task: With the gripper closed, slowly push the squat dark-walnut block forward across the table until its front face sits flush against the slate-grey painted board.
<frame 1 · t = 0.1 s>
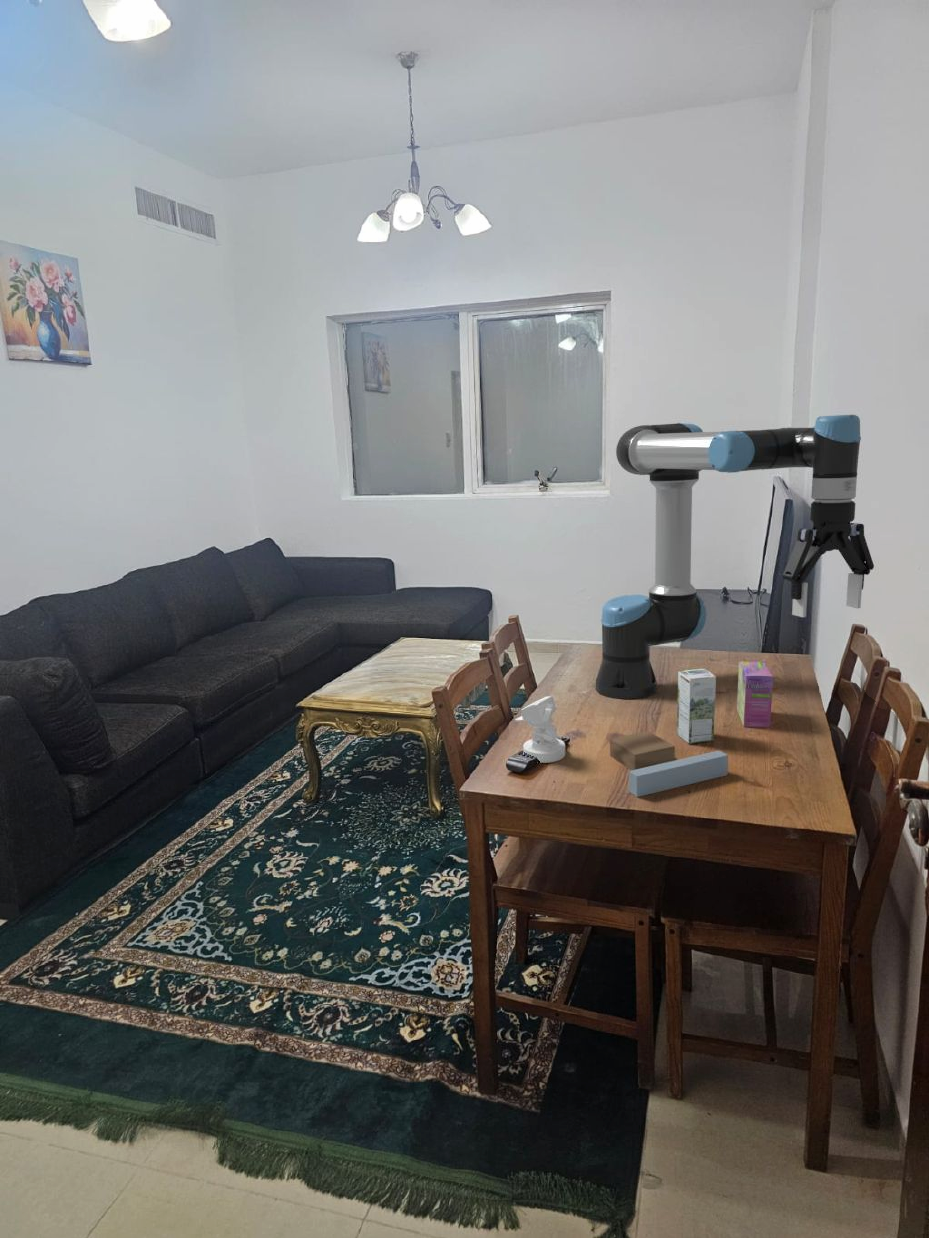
hand: (826, 611, 148), 28 cm above the table, fingers open, 13 cm apart
box: (753, 719, 171), on the table
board: (679, 783, 142), on the table
syrup box: (695, 739, 162), on the table
character figurine: (542, 754, 159), on the table
block: (641, 761, 153), on the table
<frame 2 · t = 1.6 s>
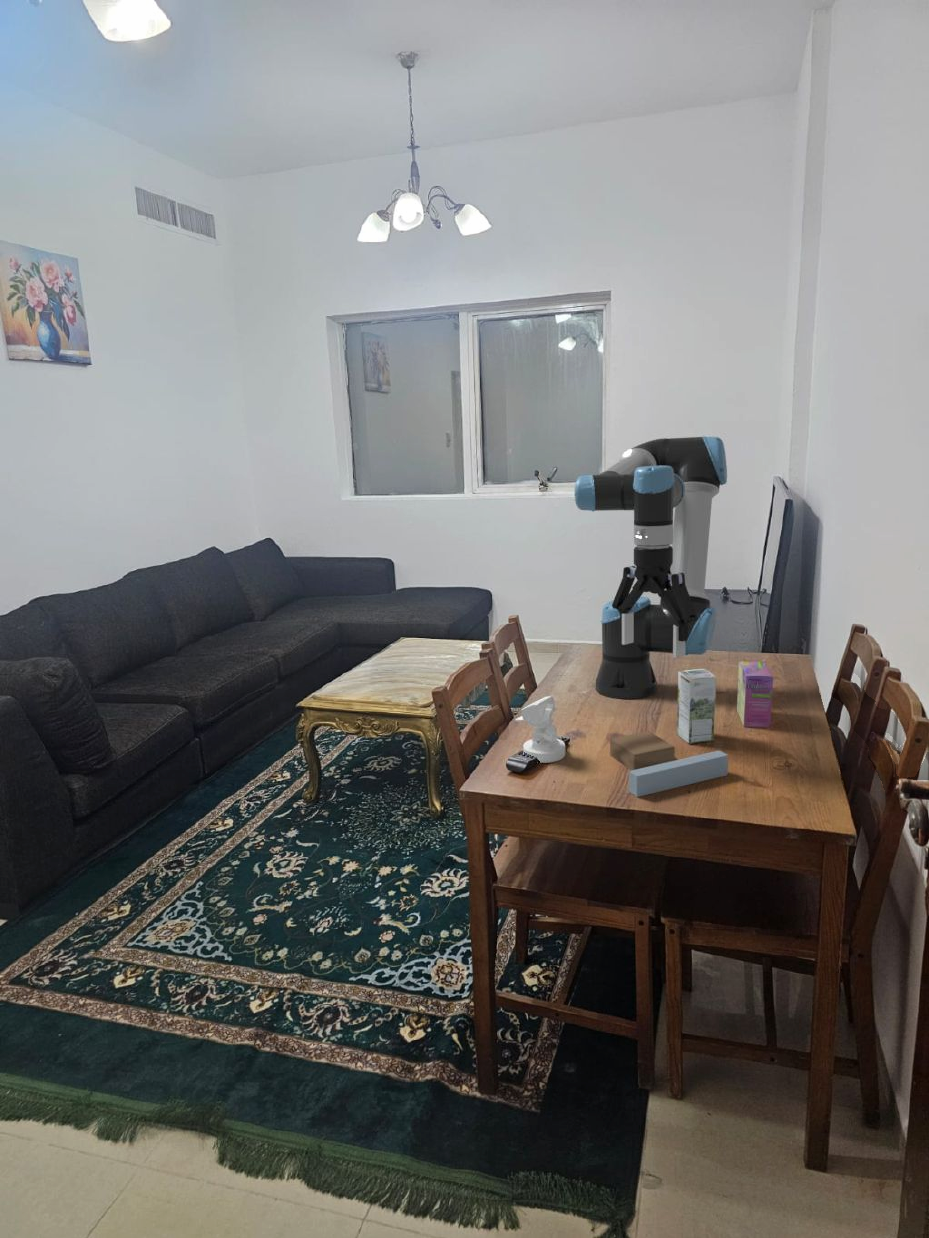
hand: (652, 649, 157), 20 cm above the table, fingers open, 13 cm apart
nothing on the table moved.
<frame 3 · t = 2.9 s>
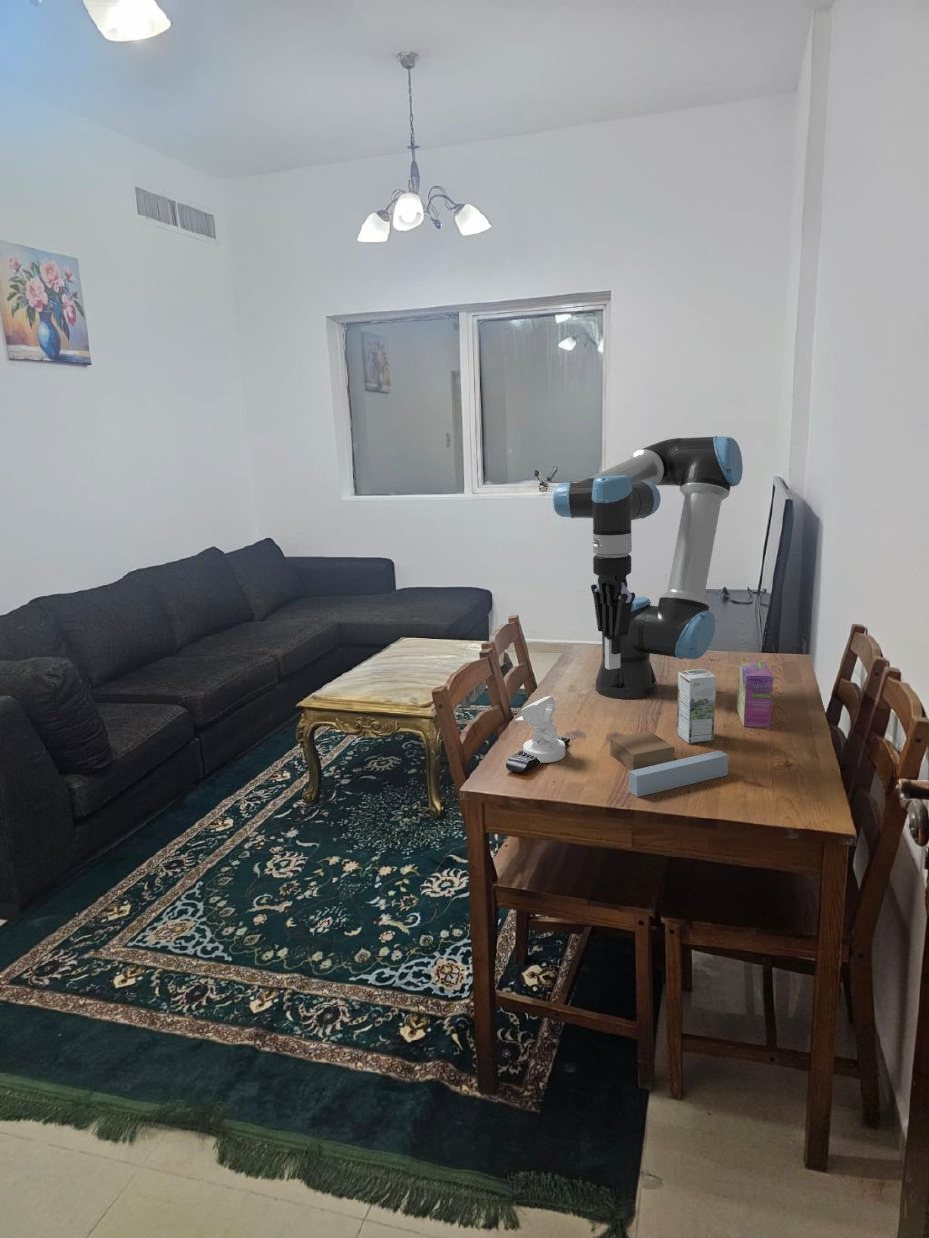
hand: (612, 667, 159), 16 cm above the table, fingers closed
nothing on the table moved.
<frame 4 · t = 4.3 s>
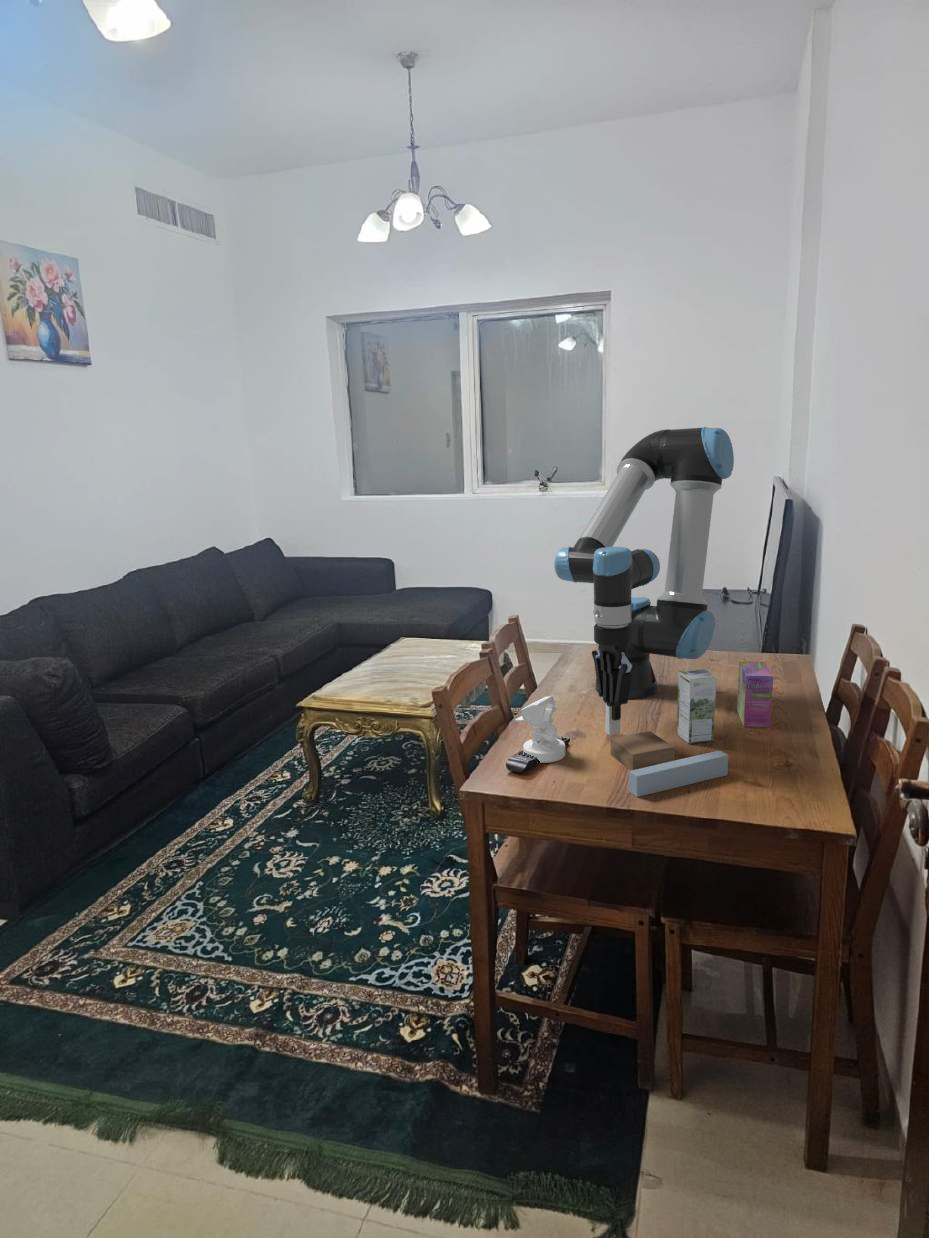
hand: (612, 732, 162), 2 cm above the table, fingers closed
nothing on the table moved.
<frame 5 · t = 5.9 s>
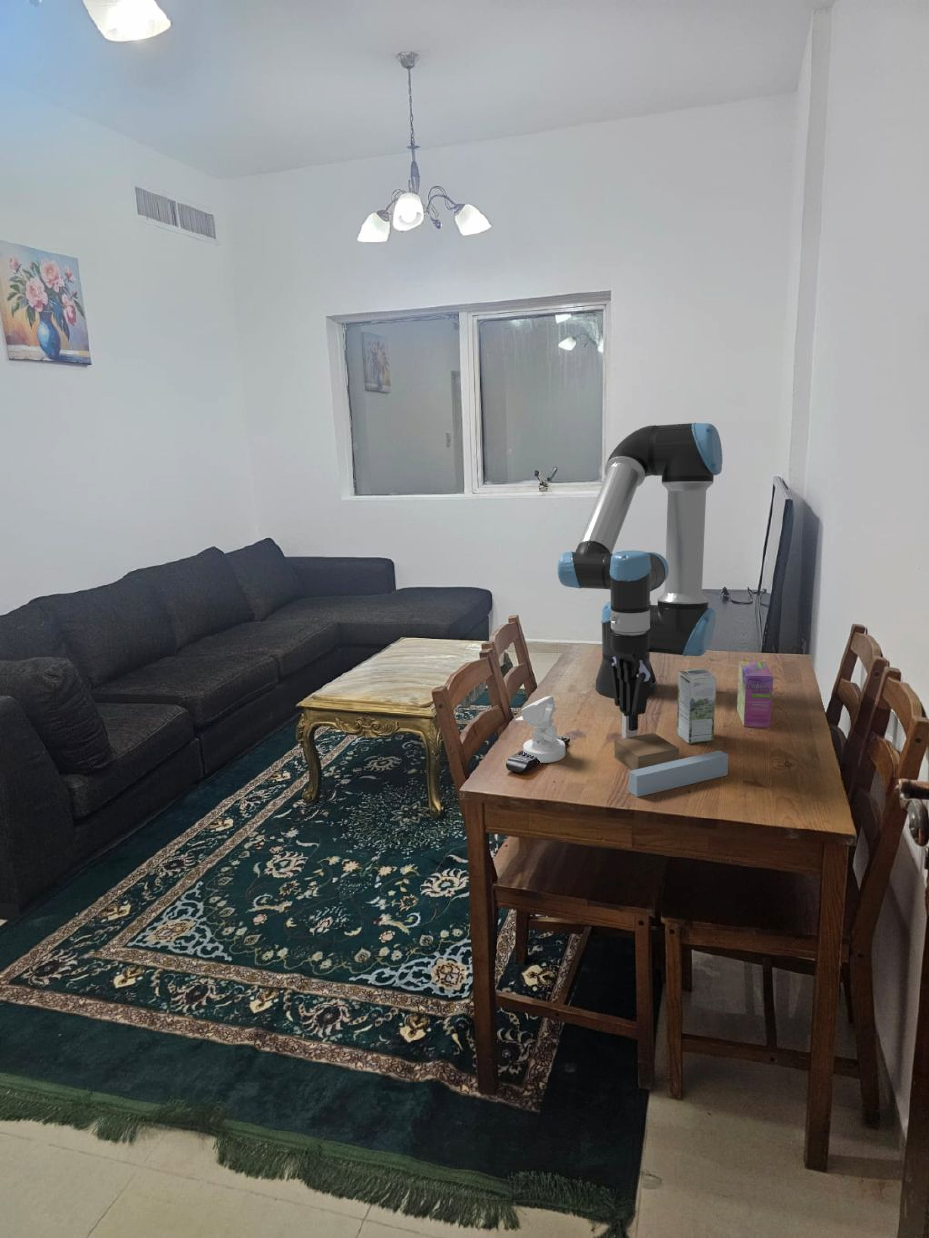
hand: (629, 743, 156), 2 cm above the table, fingers closed
block: (646, 763, 152), on the table, touching gripper
everything else where it was.
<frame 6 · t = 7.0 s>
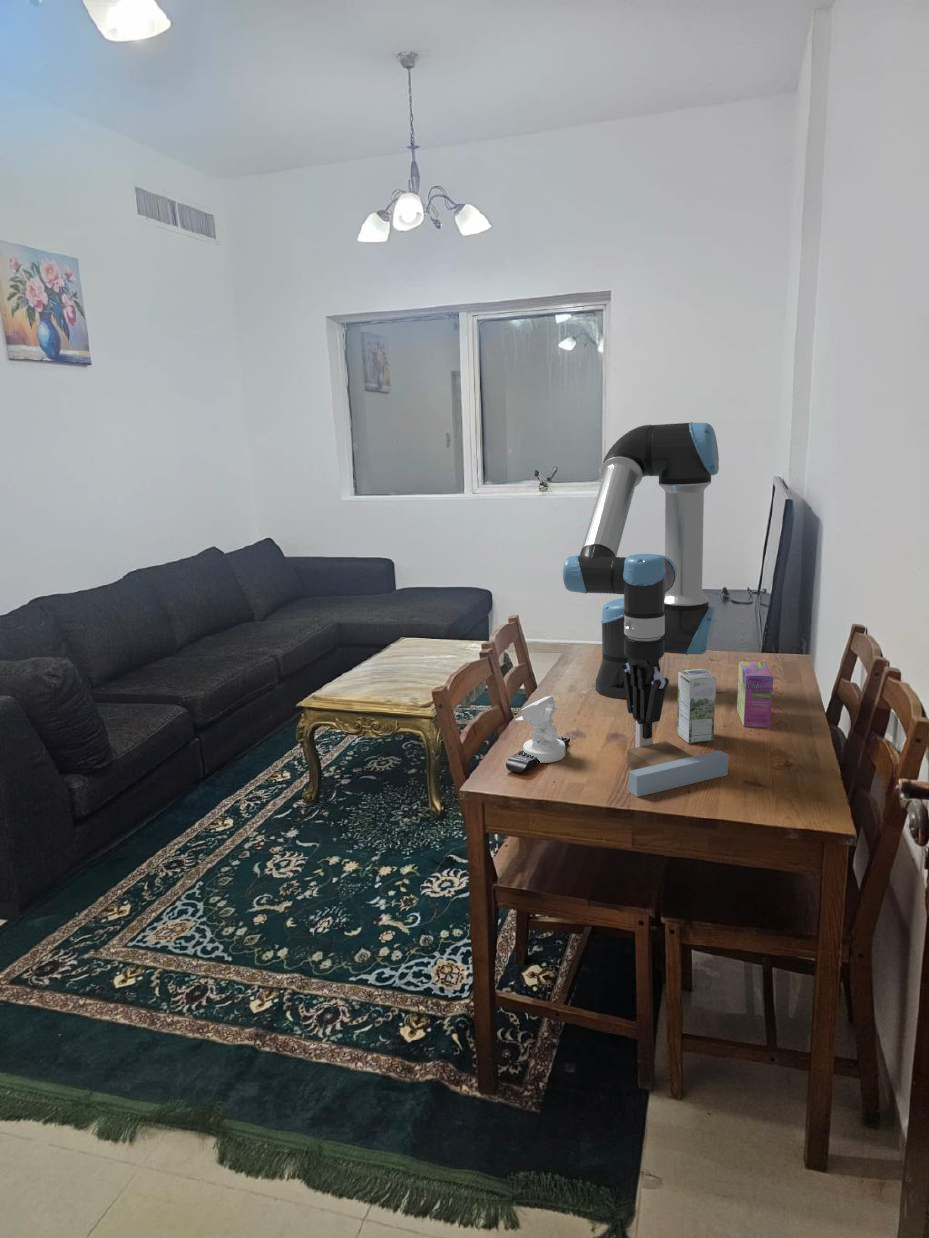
hand: (643, 751, 152), 2 cm above the table, fingers closed
block: (660, 772, 148), on the table, touching gripper
everything else where it was.
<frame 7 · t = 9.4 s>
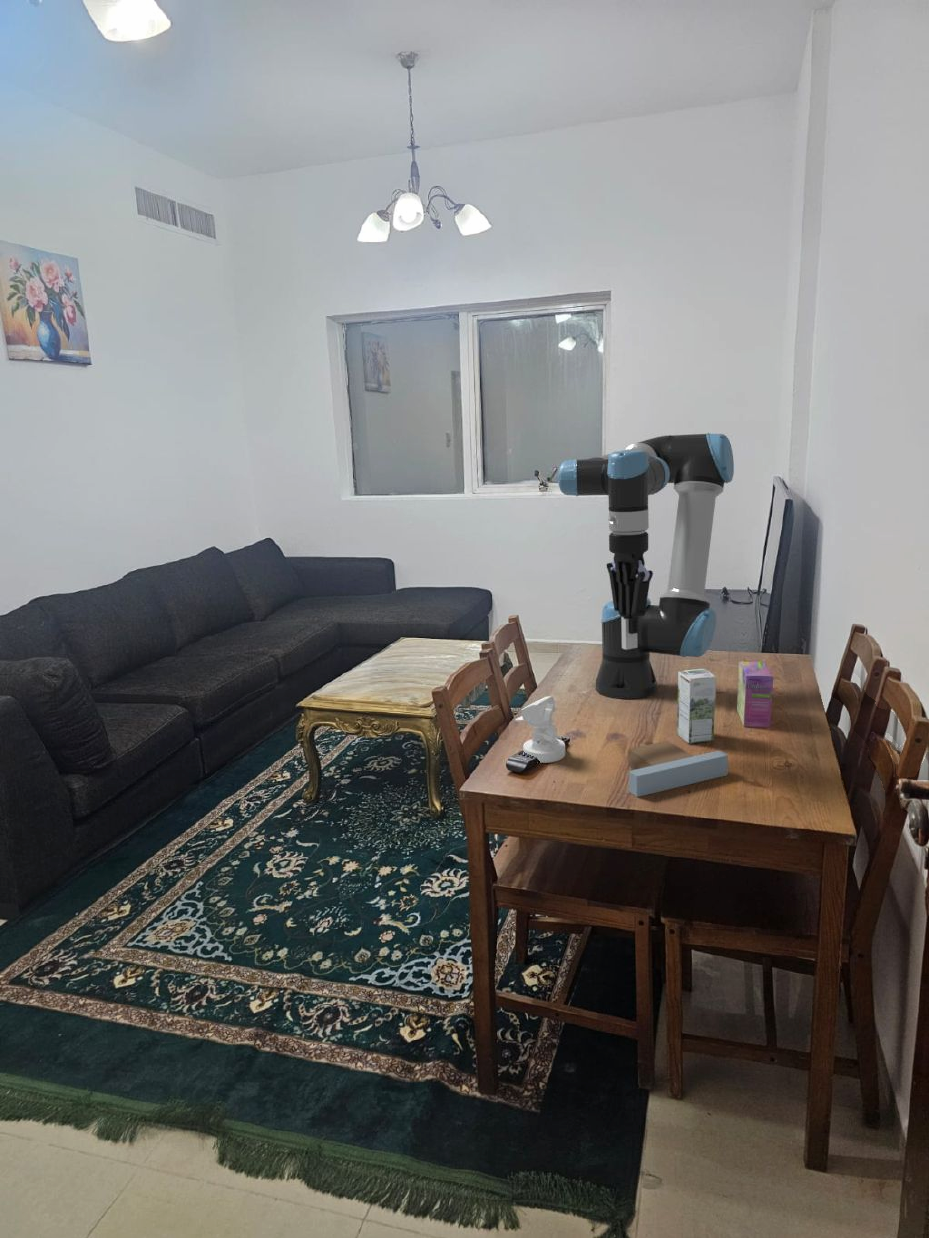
hand: (629, 647, 156), 21 cm above the table, fingers closed
block: (661, 772, 148), on the table
everything else where it was.
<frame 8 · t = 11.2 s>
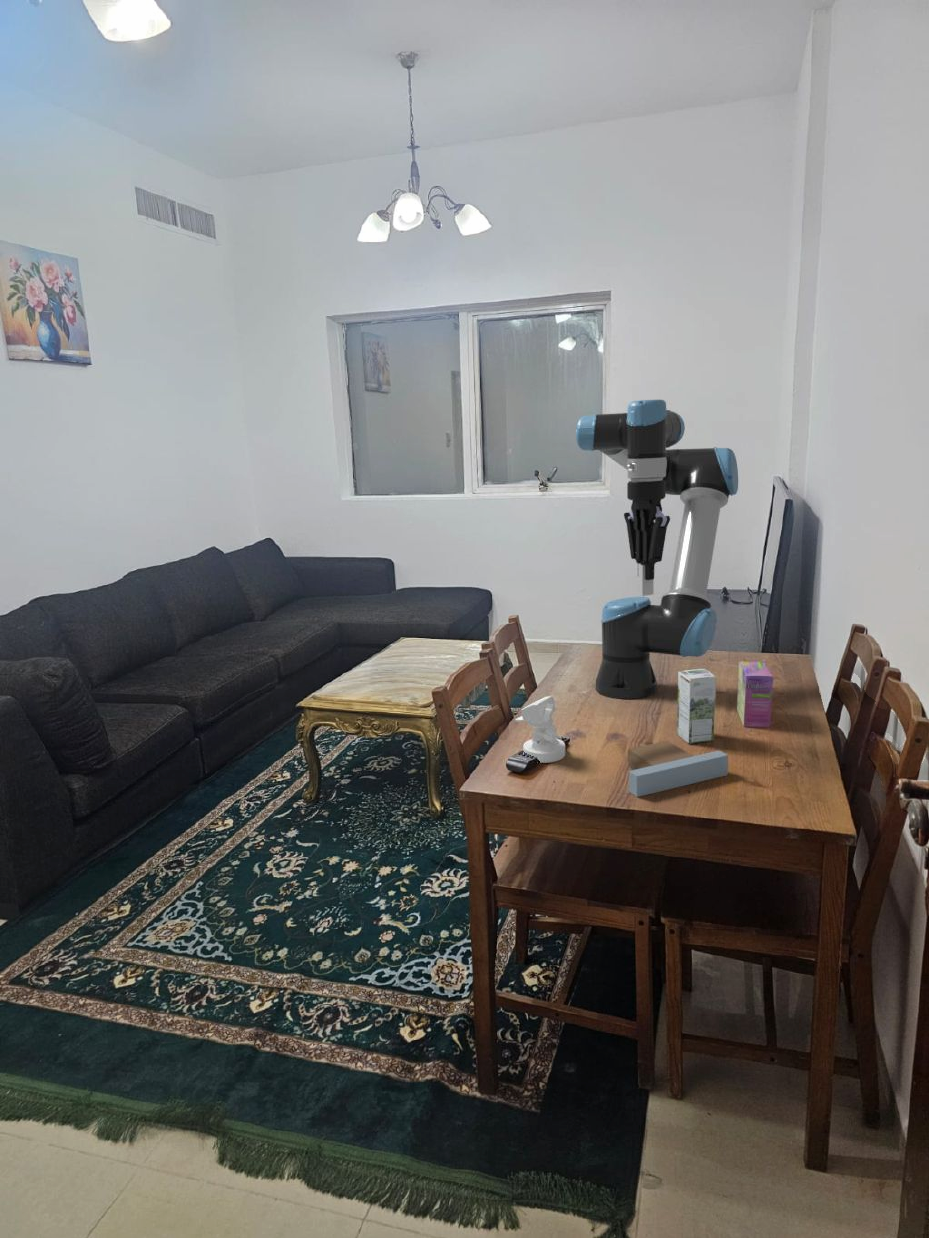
hand: (645, 594, 160), 30 cm above the table, fingers closed
nothing on the table moved.
at the end: block inside the target area on the table beside the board (0.3 cm from its centre), on the table; block tilted 0° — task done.
